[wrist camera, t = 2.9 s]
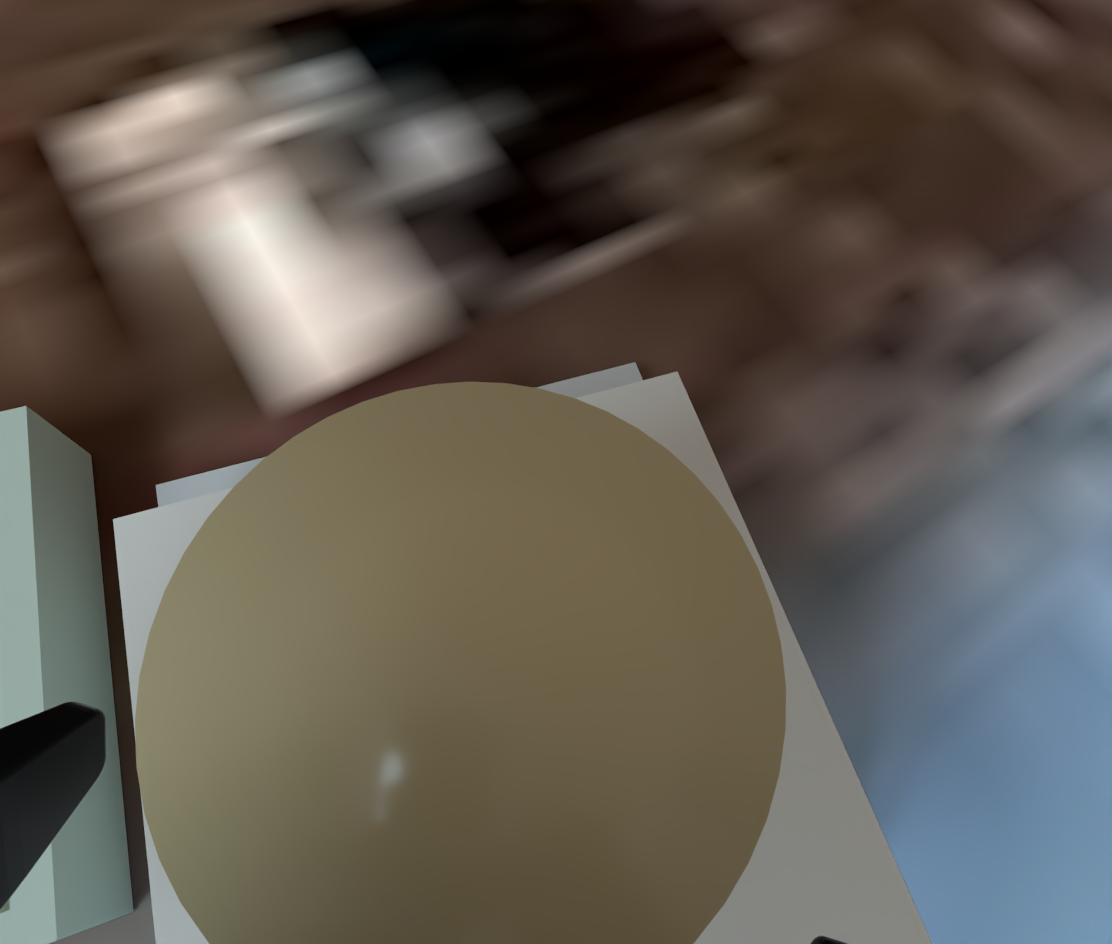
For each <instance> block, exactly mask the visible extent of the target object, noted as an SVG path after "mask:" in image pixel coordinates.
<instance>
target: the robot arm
mask: <svg viewBox="0 0 1112 944" xmlns="http://www.w3.org/2000/svg"><path fill="white" fill-rule="evenodd" d="M105 760H106V718H105V715H104V713H103V711H102V710H100V709H98V708H95V707H92V706H89V705H85V704H82V703H79V702H66V703H63V704H60V705H58V706H55V707H53V708H50V709H48V710H45V711H43V712H40V713H38V714H35V715H33V716H30V717H28V718H25V719H23V720H20V721H18V722H15V723H13V724H10V725H8V726H5V727H3V728H0V909H1V908H2V907H3V906H4V905H5V903H6V902H7V901H8V900H9V899H10V897H11V896H12V895H13V893H14V892H15V891H16V890H17V888H18V887H19V886H20V884H21V883H22V882H23V880H24V879H25V878H26V876H27V875H28V874H29V872H30V871H31V870H32V868H33V867H34V865H35V864H36V863H37V861H38V860H39V859H40V857H41V856H42V854H43V853H44V852H45V850H46V849H47V848H48V846H49V845H50V843H51V842H52V841H53V839H54V838H55V837H56V835H57V834H58V832H59V831H60V830H61V828H62V827H63V826H64V824H65V823H66V821H67V820H68V819H69V817H70V816H71V815H72V813H73V812H74V810H75V809H76V808H77V806H78V805H79V804H80V802H81V801H82V799H83V798H84V797H85V795H86V794H87V793H88V791H89V790H90V788H91V787H92V786H93V784H94V783H95V782H96V780H97V779H98V777H99V775H100V774H101V772H102V770H103V767H104V764H105ZM811 944H847V943H845V942H842V941H838V940H835V939H832V938H829V937H826V936H818V937H816V938H814V940H813V941H812V942H811Z"/></svg>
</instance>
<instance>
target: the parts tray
mask: <svg viewBox="0 0 1112 944" xmlns="http://www.w3.org/2000/svg"><path fill="white" fill-rule="evenodd" d="M66 702H79V703H82V704H85V705H89V706H92V707H95V708H98V709H100V710H102V711H103V713H104V715H105V718H106V760H105V764H104V767H103V770H102V772H101V774H100V775H99V777H98V779H97V780H96V782H95V783H94V784H93V786H92V787H91V788H90V790H89V791H88V793H87V794H86V795H85V797H84V798H83V799H82V801H81V802H80V804H79V805H78V806H77V808H76V809H75V810H74V812H73V813H72V815H71V816H70V817H69V819H68V820H67V821H66V823H65V824H64V826H63V827H62V828H61V830H60V831H59V832H58V834H57V835H56V837H55V838H54V839H53V841H52V842H51V843H50V845H49V846H48V848H47V849H46V850H45V852H44V853H43V854H42V856H41V857H40V859H39V860H38V861H37V863H36V864H35V865H34V867H33V868H32V870H31V871H30V872H29V874H28V875H27V876H26V878H25V879H24V880H23V882H22V883H21V884H20V886H19V887H18V888H17V890H16V891H15V892H14V893H13V895H12V896H11V897H10V899H9V900H8V901H7V902H6V903H5V905H4V906H3V907H2V908H1V909H0V944H48V943H51V942H54V941H57V940H60V939H62V938H65V937H68V936H70V935H73V934H76V933H78V932H81V931H84V930H86V929H89V928H92V927H94V926H97V925H100V924H102V923H105V922H108V921H110V920H113V919H116V918H118V917H121V916H124V915H126V914H129V913H132V912H134V911H133V900H132V890H131V879H130V868H129V857H128V847H127V836H126V825H125V814H124V803H123V793H122V782H121V771H120V760H119V749H118V739H117V728H116V717H115V706H114V695H113V685H112V674H111V663H110V652H109V642H108V631H107V620H106V609H105V598H104V588H103V577H102V566H101V555H100V544H99V534H98V523H97V512H96V501H95V490H94V480H93V469H92V458H91V454H89V453H88V452H87V451H85V450H84V449H83V448H81V447H80V446H79V445H77V444H76V443H75V442H73V441H72V440H71V439H69V438H68V437H67V436H65V435H64V434H63V433H61V432H60V431H59V430H58V429H56V428H55V427H54V426H52V425H51V424H50V423H48V422H47V421H46V420H44V419H43V418H42V417H40V416H39V415H38V414H36V413H35V412H34V411H32V410H31V409H30V408H28V407H27V406H23V407H19V408H15V409H10V410H6V411H2V412H0V728H3V727H5V726H8V725H10V724H13V723H15V722H18V721H20V720H23V719H25V718H28V717H30V716H33V715H35V714H38V713H40V712H43V711H45V710H48V709H50V708H53V707H55V706H58V705H60V704H63V703H66Z"/></svg>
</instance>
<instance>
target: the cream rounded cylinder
mask: <svg viewBox="0 0 1112 944" xmlns="http://www.w3.org/2000/svg"><path fill="white" fill-rule="evenodd" d="M785 727H786V682H785V673H784V664H783V655H782V646H781V641H780V637H779V633H778V629H777V625H776V620H775V616H774V612H773V608H772V604H771V602H770V599H769V596H768V593H767V591H766V588H765V585H764V583H763V580H762V577H761V575H760V572H759V569H758V567H757V565H756V563H755V561H754V559H753V557H752V555H751V553H750V551H749V549H748V547H747V546H746V544H745V542H744V540H743V538H742V536H741V534H740V532H739V531H738V529H737V528H736V526H735V525H734V523H733V522H732V520H731V519H730V518H729V516H728V515H727V513H726V512H725V510H724V509H723V507H722V506H721V504H720V503H719V501H718V500H717V499H716V498H715V497H714V496H713V495H712V493H711V492H710V491H709V490H708V489H707V488H706V487H705V485H704V484H703V483H702V482H701V481H700V480H699V478H698V477H697V476H696V475H695V474H694V473H693V472H692V471H691V470H690V469H689V468H687V467H686V466H685V465H684V464H683V463H682V462H681V461H680V460H679V459H678V458H676V457H675V456H674V455H673V454H672V453H671V452H670V451H669V450H668V449H666V448H665V447H663V446H662V445H661V444H659V443H658V442H656V441H655V440H654V439H652V438H651V437H649V436H648V435H647V434H645V433H644V432H642V431H641V430H640V429H638V428H636V427H635V426H633V425H631V424H629V423H627V422H625V421H624V420H622V419H620V418H618V417H616V416H615V415H613V414H611V413H609V412H607V411H605V410H602V409H600V408H597V407H595V406H593V405H590V404H588V403H585V402H583V401H580V400H578V399H575V398H572V397H569V396H565V395H561V394H558V393H554V392H550V391H547V390H543V389H540V388H533V387H527V386H520V385H514V384H507V383H490V382H458V383H445V384H432V385H427V386H422V387H417V388H411V389H406V390H401V391H396V392H393V393H390V394H386V395H383V396H380V397H377V398H374V399H370V400H367V401H364V402H361V403H359V404H356V405H354V406H352V407H350V408H347V409H345V410H343V411H340V412H338V413H336V414H334V415H331V416H329V417H327V418H325V419H323V420H322V421H320V422H318V423H317V424H315V425H313V426H311V427H310V428H308V429H306V430H304V431H303V432H301V433H299V434H298V435H296V436H294V437H293V438H291V439H290V440H289V441H287V442H286V443H285V444H283V445H282V446H281V447H279V448H278V449H277V450H275V451H274V452H273V453H271V454H270V455H269V456H267V457H266V458H264V459H263V460H262V461H261V462H260V463H259V464H258V465H257V466H256V467H255V468H253V469H252V470H251V471H250V472H249V473H248V474H247V475H246V476H245V477H244V478H243V479H242V480H241V481H240V482H238V483H237V484H236V485H235V486H234V487H233V488H232V490H231V491H230V492H229V493H228V494H227V495H226V497H225V498H224V499H223V500H222V501H221V502H220V504H219V505H218V506H217V507H216V508H215V509H214V511H213V512H212V513H211V514H210V515H209V517H208V518H207V519H206V521H205V522H204V524H203V525H202V527H201V528H200V530H199V531H198V533H197V534H196V536H195V537H194V539H193V540H192V542H191V543H190V545H189V546H188V548H187V549H186V550H185V552H184V554H183V556H182V558H181V560H180V562H179V564H178V565H177V567H176V569H175V571H174V573H173V575H172V577H171V579H170V581H169V583H168V585H167V587H166V589H165V591H164V594H163V596H162V599H161V602H160V605H159V607H158V610H157V613H156V616H155V618H154V621H153V624H152V627H151V629H150V632H149V636H148V641H147V645H146V649H145V654H144V658H143V662H142V667H141V671H140V675H139V685H138V695H137V705H136V715H135V738H136V768H137V773H138V779H139V785H140V791H141V797H142V803H143V808H144V814H145V817H146V820H147V823H148V827H149V830H150V833H151V836H152V839H153V842H154V845H155V848H156V851H157V854H158V858H159V860H160V862H161V864H162V866H163V868H164V870H165V872H166V874H167V876H168V878H169V880H170V883H171V885H172V887H173V889H174V891H175V893H176V895H177V897H178V899H179V901H180V903H181V904H182V906H183V907H184V908H185V910H186V911H187V913H188V914H189V916H190V917H191V918H192V920H193V921H194V923H195V924H196V926H197V927H198V929H199V930H200V931H201V933H202V934H203V936H204V937H205V939H206V940H207V941H208V943H209V944H693V943H694V942H695V941H696V940H697V939H698V937H699V936H700V935H701V934H702V932H703V931H704V930H705V928H706V927H707V926H708V925H709V923H710V922H711V921H712V919H713V918H714V917H715V916H716V914H717V913H718V912H719V911H720V909H721V908H722V907H723V905H724V904H725V903H726V901H727V899H728V897H729V896H730V894H731V892H732V891H733V889H734V887H735V885H736V884H737V882H738V880H739V879H740V877H741V875H742V873H743V872H744V870H745V868H746V867H747V865H748V863H749V861H750V859H751V856H752V854H753V852H754V849H755V847H756V844H757V842H758V840H759V837H760V835H761V832H762V830H763V828H764V825H765V823H766V821H767V818H768V814H769V810H770V807H771V803H772V799H773V796H774V792H775V788H776V785H777V781H778V777H779V773H780V766H781V759H782V752H783V744H784V737H785Z"/></svg>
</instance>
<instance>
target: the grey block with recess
mask: <svg viewBox="0 0 1112 944" xmlns="http://www.w3.org/2000/svg"><path fill="white" fill-rule="evenodd" d="M536 388H540V389H543V390H547V391H550V392H554V393H558V394H561V395H565V396H569V397H572V398H575V399H578V400H580V401H583V402H585V403H588V404H590V405H593V406H595V407H597V408H600V409H602V410H605V411H607V412H609V413H611V414H613V415H615V416H616V417H618V418H620V419H622V420H624V421H625V422H627V423H629V424H631V425H633V426H635V427H636V428H638V429H640V430H641V431H642V432H644V433H645V434H647V435H648V436H649V437H651V438H652V439H654V440H655V441H656V442H658V443H659V444H661V445H662V446H663V447H665V448H666V449H668V450H669V451H670V452H671V453H672V454H673V455H674V456H675V457H676V458H678V459H679V460H680V461H681V462H682V463H683V464H684V465H685V466H686V467H687V468H689V469H690V470H691V471H692V472H693V473H694V474H695V475H696V476H697V477H698V478H699V480H700V481H701V482H702V483H703V484H704V485H705V487H706V488H707V489H708V490H709V491H710V492H711V493H712V495H713V496H714V497H715V498H716V499H717V500H718V501H719V503H720V504H721V506H722V507H723V509H724V510H725V512H726V513H727V515H728V516H729V518H730V519H731V520H732V522H733V523H734V525H735V526H736V528H737V529H738V531H739V532H740V534H741V536H742V538H743V540H744V542H745V544H746V546H747V547H748V549H749V551H750V553H751V555H752V557H753V559H754V561H755V563H756V565H757V567H758V569H759V572H760V575H761V577H762V580H763V583H764V585H765V588H766V591H767V593H768V596H769V599H770V602H771V604H772V608H773V612H774V616H775V620H776V625H777V629H778V633H779V637H780V641H781V646H782V655H783V664H784V673H785V682H786V727H785V737H784V744H783V752H782V759H781V766H780V773H779V777H778V781H777V785H776V788H775V792H774V796H773V799H772V803H771V807H770V810H769V814H768V818H767V821H766V823H765V825H764V828H763V830H762V832H761V835H760V837H759V840H758V842H757V844H756V847H755V849H754V852H753V854H752V856H751V859H750V861H749V863H748V865H747V867H746V868H745V870H744V872H743V873H742V875H741V877H740V879H739V880H738V882H737V884H736V885H735V887H734V889H733V891H732V892H731V894H730V896H729V897H728V899H727V901H726V903H725V904H724V905H723V907H722V908H721V909H720V911H719V912H718V913H717V914H716V916H715V917H714V918H713V919H712V921H711V922H710V923H709V925H708V926H707V927H706V928H705V930H704V931H703V932H702V934H701V935H700V936H699V937H698V939H697V940H696V941H695V942H694V943H693V944H811V942H812V941H813V940H814V938H816V937H818V936H826V937H829V938H832V939H835V940H838V941H842V942H845V943H847V944H932V942H931V940H930V938H929V935H928V933H927V931H926V929H925V926H924V924H923V922H922V920H921V917H920V915H919V913H918V911H917V908H916V906H915V904H914V902H913V899H912V897H911V895H910V893H909V890H908V888H907V886H906V884H905V881H904V879H903V877H902V875H901V872H900V870H899V868H898V866H897V864H896V861H895V859H894V857H893V855H892V852H891V850H890V848H889V846H888V843H887V841H886V839H885V837H884V834H883V832H882V830H881V828H880V825H879V823H878V821H877V819H876V816H875V814H874V812H873V810H872V807H871V805H870V803H869V801H868V798H867V796H866V794H865V792H864V789H863V787H862V785H861V783H860V780H859V778H858V776H857V774H856V771H855V769H854V767H853V765H852V762H851V760H850V758H849V756H848V753H847V751H846V749H845V747H844V745H843V742H842V740H841V738H840V736H839V733H838V731H837V729H836V727H835V724H834V722H833V720H832V718H831V715H830V713H829V711H828V709H827V706H826V704H825V702H824V700H823V697H822V695H821V693H820V691H819V688H818V686H817V684H816V682H815V679H814V677H813V675H812V673H811V670H810V668H809V666H808V664H807V661H806V659H805V657H804V655H803V652H802V650H801V648H800V646H799V643H798V641H797V639H796V637H795V634H794V632H793V630H792V628H791V626H790V623H789V621H788V619H787V617H786V614H785V612H784V610H783V608H782V605H781V603H780V601H779V599H778V596H777V594H776V592H775V590H774V587H773V585H772V583H771V581H770V578H769V576H768V574H767V572H766V569H765V567H764V565H763V563H762V560H761V558H760V556H759V554H758V551H757V549H756V547H755V545H754V542H753V540H752V538H751V536H750V533H749V531H748V529H747V527H746V524H745V522H744V520H743V518H742V515H741V513H740V511H739V509H738V507H737V504H736V502H735V500H734V498H733V495H732V493H731V491H730V489H729V486H728V484H727V482H726V480H725V477H724V475H723V473H722V471H721V468H720V466H719V464H718V462H717V459H716V457H715V455H714V453H713V450H712V448H711V446H710V444H709V441H708V439H707V437H706V435H705V432H704V430H703V428H702V426H701V423H700V421H699V419H698V417H697V414H696V412H695V410H694V408H693V405H692V403H691V401H690V399H689V396H688V394H687V392H686V390H685V388H684V385H683V383H682V381H681V379H680V376H679V374H678V372H673V373H669V374H665V375H662V376H658V377H654V378H650V379H646V380H643V379H642V377H641V374H640V372H639V370H638V367H637V365H636V363H635V362H634V363H630V364H626V365H622V366H618V367H614V368H610V369H606V370H602V371H599V372H595V373H591V374H587V375H583V376H579V377H575V378H571V379H567V380H564V381H560V382H556V383H552V384H548V385H544V386H540V387H536ZM264 458H266V457H263V458H259V459H255V460H252V461H248V462H244V463H240V464H236V465H232V466H228V467H224V468H220V469H216V470H213V471H209V472H205V473H201V474H197V475H193V476H189V477H185V478H181V479H177V480H174V481H170V482H166V483H162V484H158V485H156V493H157V501H158V507H157V508H154V509H150V510H146V511H142V512H138V513H134V514H131V515H127V516H123V517H119V518H115V519H113V525H114V535H115V545H116V555H117V565H118V574H119V584H120V594H121V604H122V614H123V624H124V634H125V644H126V653H127V663H128V673H129V683H130V693H131V703H132V713H133V722H134V732H135V715H136V705H137V695H138V685H139V675H140V671H141V667H142V662H143V658H144V654H145V649H146V645H147V641H148V636H149V632H150V629H151V627H152V624H153V621H154V618H155V616H156V613H157V610H158V607H159V605H160V602H161V599H162V596H163V594H164V591H165V589H166V587H167V585H168V583H169V581H170V579H171V577H172V575H173V573H174V571H175V569H176V567H177V565H178V564H179V562H180V560H181V558H182V556H183V554H184V552H185V550H186V549H187V548H188V546H189V545H190V543H191V542H192V540H193V539H194V537H195V536H196V534H197V533H198V531H199V530H200V528H201V527H202V525H203V524H204V522H205V521H206V519H207V518H208V517H209V515H210V514H211V513H212V512H213V511H214V509H215V508H216V507H217V506H218V505H219V504H220V502H221V501H222V500H223V499H224V498H225V497H226V495H227V494H228V493H229V492H230V491H231V490H232V488H233V487H234V486H235V485H236V484H237V483H238V482H240V481H241V480H242V479H243V478H244V477H245V476H246V475H247V474H248V473H249V472H250V471H251V470H252V469H253V468H255V467H256V466H257V465H258V464H259V463H260V462H261V461H262V460H263V459H264ZM135 742H136V738H135ZM140 792H141V791H140ZM141 801H142V797H141ZM142 811H143V821H144V831H145V841H146V851H147V861H148V871H149V880H150V890H151V900H152V910H153V920H154V930H155V940H156V944H209V943H208V941H207V940H206V939H205V937H204V936H203V934H202V933H201V931H200V930H199V929H198V927H197V926H196V924H195V923H194V921H193V920H192V918H191V917H190V916H189V914H188V913H187V911H186V910H185V908H184V907H183V906H182V904H181V903H180V901H179V899H178V897H177V895H176V893H175V891H174V889H173V887H172V885H171V883H170V880H169V878H168V876H167V874H166V872H165V870H164V868H163V866H162V864H161V862H160V860H159V858H158V854H157V851H156V848H155V845H154V842H153V839H152V836H151V833H150V830H149V827H148V823H147V820H146V817H145V814H144V808H143V803H142Z"/></svg>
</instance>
